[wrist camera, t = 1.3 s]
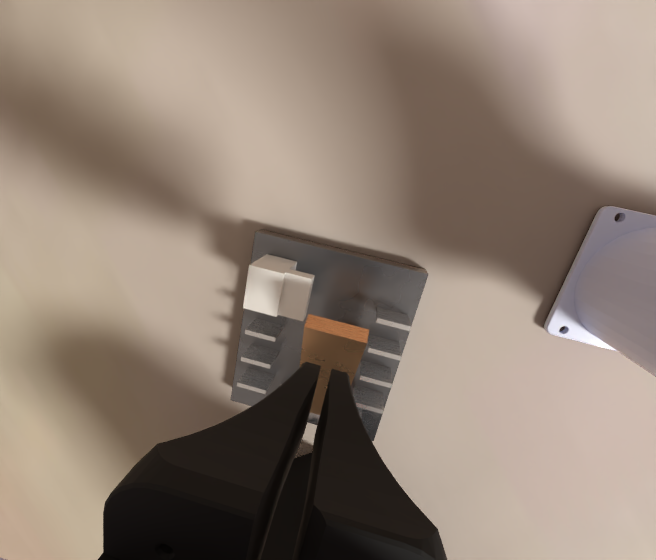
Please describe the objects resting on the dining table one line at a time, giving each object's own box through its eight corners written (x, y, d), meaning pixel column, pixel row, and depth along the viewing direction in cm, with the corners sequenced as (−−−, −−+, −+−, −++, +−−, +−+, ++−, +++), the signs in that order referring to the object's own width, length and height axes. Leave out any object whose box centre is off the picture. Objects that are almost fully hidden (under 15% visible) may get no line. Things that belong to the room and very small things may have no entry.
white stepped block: (320, 267, 20) (310, 280, 17) (312, 304, 21) (301, 323, 18) (267, 254, 20) (249, 264, 17) (260, 291, 21) (242, 308, 18)
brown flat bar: (376, 326, 15) (372, 350, 14) (342, 412, 23) (338, 432, 22) (304, 307, 16) (296, 330, 15) (294, 399, 23) (288, 418, 22)
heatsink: (425, 269, 20) (433, 282, 17) (373, 429, 24) (373, 461, 21) (261, 229, 21) (244, 236, 18) (237, 390, 25) (219, 416, 22)
